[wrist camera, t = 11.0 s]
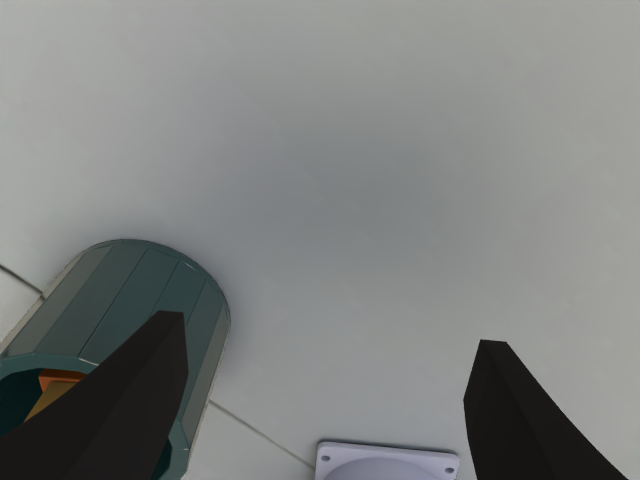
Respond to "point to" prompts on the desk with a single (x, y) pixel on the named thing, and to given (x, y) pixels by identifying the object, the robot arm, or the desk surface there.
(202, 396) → the cup
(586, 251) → the desk surface
